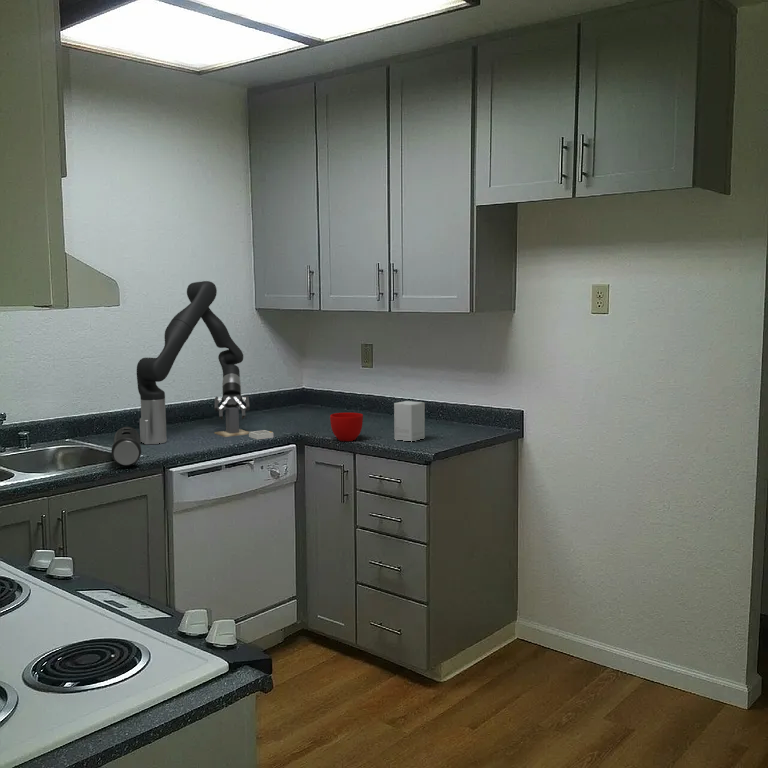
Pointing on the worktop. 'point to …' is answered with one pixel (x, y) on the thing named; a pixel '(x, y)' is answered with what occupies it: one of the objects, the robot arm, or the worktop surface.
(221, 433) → the oak board
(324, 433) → the worktop surface
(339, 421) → the ceramic cup
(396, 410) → the supplement box
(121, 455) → the muzzle brake
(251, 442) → the worktop surface
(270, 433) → the socket dock
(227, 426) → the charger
